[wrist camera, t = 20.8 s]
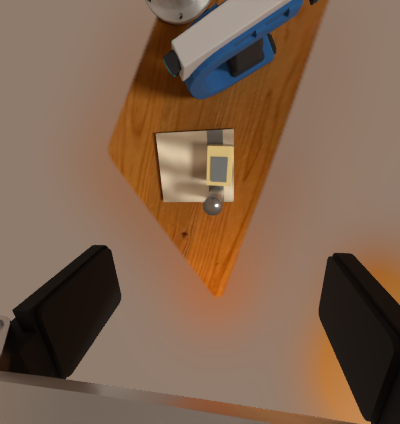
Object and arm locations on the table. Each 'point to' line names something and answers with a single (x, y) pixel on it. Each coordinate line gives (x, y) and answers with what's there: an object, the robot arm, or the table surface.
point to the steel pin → (214, 201)
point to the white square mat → (190, 164)
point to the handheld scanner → (228, 43)
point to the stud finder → (219, 164)
